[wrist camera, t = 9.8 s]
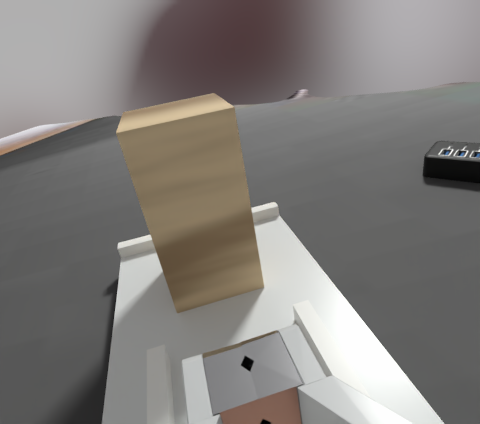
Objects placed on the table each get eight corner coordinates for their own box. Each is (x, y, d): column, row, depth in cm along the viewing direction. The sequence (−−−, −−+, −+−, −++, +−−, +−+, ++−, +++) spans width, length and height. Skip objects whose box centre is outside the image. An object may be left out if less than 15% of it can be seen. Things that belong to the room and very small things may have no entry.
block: (264, 287, 19) (234, 107, 15) (177, 313, 19) (116, 132, 14) (242, 242, 24) (214, 93, 19) (171, 262, 23) (123, 112, 18)
